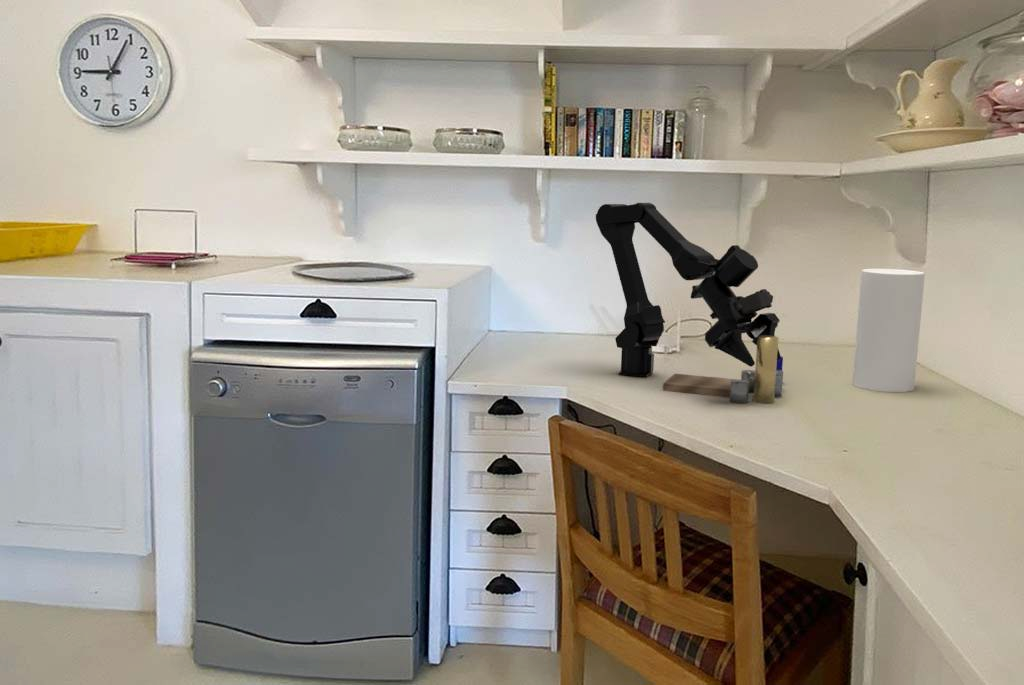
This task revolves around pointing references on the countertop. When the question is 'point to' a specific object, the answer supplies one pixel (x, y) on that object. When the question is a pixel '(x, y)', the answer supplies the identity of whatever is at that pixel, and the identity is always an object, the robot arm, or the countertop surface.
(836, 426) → the countertop surface
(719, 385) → the brown wooden board
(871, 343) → the cylinder
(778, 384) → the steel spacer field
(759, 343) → the cylinder
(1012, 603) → the countertop surface
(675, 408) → the countertop surface
